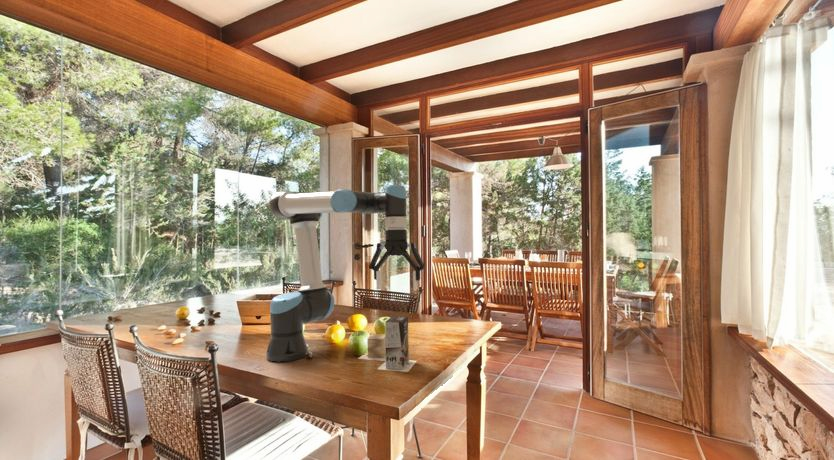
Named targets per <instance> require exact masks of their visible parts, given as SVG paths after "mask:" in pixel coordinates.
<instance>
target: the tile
mask: <svg viewBox="0 0 834 460" xmlns="http://www.w3.org/2000/svg"><path fill="white" fill-rule="evenodd" d="M417 362H418V360H412V359H409V361H408V363H407V364H406V366H405V367H404V369H402V370H400V369H387V368H386V361H383V363H382V364H381V365H379V366H378V367H377V370H384V371H392V372H393V371H395V372H404V373H405V372H406V373H409V372H410V370H411V369H412V368H413V367H414V365H415V364H416V363H417Z"/></svg>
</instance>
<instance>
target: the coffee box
mask: <svg viewBox="0 0 834 460" xmlns="http://www.w3.org/2000/svg"><path fill="white" fill-rule="evenodd" d="M384 324H385V328H384V329H385V333H384V334H385V342H386V343H385V344H386V368H387V369H400V370H402V369H404V367H405V366H406V364H407V363H408V361H409V360H410V358H409V357H410V351H409V343H410V342H409V316H406V315H405V316H404V315H403V316H402V315H401V316H400V315H398V316H390V317H389V318H388V319H387V320H385V323H384Z"/></svg>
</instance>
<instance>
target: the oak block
mask: <svg viewBox="0 0 834 460" xmlns="http://www.w3.org/2000/svg"><path fill="white" fill-rule="evenodd" d="M366 340H367V351H368V357H373V358H384V356H385V355H386V344H385V343H386V342H385V333H384V334H383V333H379V334H378V333H370V335H369V336H368V337H367V339H366Z"/></svg>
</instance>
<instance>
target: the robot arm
mask: <svg viewBox="0 0 834 460" xmlns="http://www.w3.org/2000/svg"><path fill="white" fill-rule="evenodd" d="M406 190H407V189H406V187H405V185H402V184H388V185H386V186H384V191H382V192H369V191H359V190H352V189H351V190H350V189H344V188H339V189H336V190H332V191H331V190H330V191H318V192H317V191H316V192H315V191H314V192H307V191H306V192H304V191H303V192H299V191H289V190H281V191H277V192H275V193H274V194H272V196H271V197H270V199H269V201H268V208H269V211H270V213H271V214H272V215H273V216H274V217H275V218H278V219H281V220H289V222H290V226H291V228H293V229H294V232H295V233H294V234H295V240H296V251H297V258H298V268H299V276H300V277H299V278H300V285H301V286H300V287H299V289H298V290H297V291H293V292H284V293H282V294H278V295H276V296H274V297H273V298H272V299H271V300H270V308H269V312H270V340H269V343H268V346H267V349H266V354H265V355H266V358H267V359H268V360H267V359H266V358H265V359H266V360H267V361H269V360H270V361H269V362H272V361H277V362H276V363H282V362H281V361H287V362H293V361H296V360H300V359H303V358H305V357H306V356H307V355H306V353H307V352H308V353H309V348H308V347H309V346H308V344H307V342H306V338H305V336H304V329H303V326H304V325H306V324H310V323H313V322H316V321H322V320H323V319H326V318H328V317H329V316H330V315H332V313H333V311H334V308H335V298H334V295H333V294H332V292H331V291H330V290H328V288H327V287H328V286H327V285H326V284H325V283H324V282H323V277H322V268H321V260H320V251H319V242H318V234H317V226H318V224H319V223H320V220H319V219H321V218H322V216H323V214H328V213H330V214H335V213H336V214H337V213H340V214H341V213H343V214H344V213H351V214H353V213H359V214H366V215H372V214H384V215H385V216H384V220H385V221H384V223H385V224H384V226H385V229H386V230H385V234H384V235H385V243H382V242H378V243H377V244H376V249H375V251H374V254H373V257H372V258H371V261H370V263H369V265H368V269H369V270H372V271H373V279H374V280H375V281H376V290H381V289H382V270H381V268H382V266H383V265H384V264H385V262H386V261H387V260H388V259H389V258H390V256H391V257H393V256H402V257H404V259H405V260H406V261H407V263H408V264H410V266H411V267H412V269H413V270H414V271H412V277H413V278H412V279H413V280H412V281H413V284H412V285H413V290H412V291H414V292H416V291H417V290H418V289H419V288H418V287H419V285H418V284H419V283H418V282H419V281H420V280H421V271H423V270H425V269H426V265H425V264H424V261H423V259H422V257H421V255H420V253H419V251H418V250H417V249H418V248H417V243H416V242H411V243H408V231H407V228H408V227H407V226H408V225H407V224H408V223H407V220H408V219H407V192H406ZM408 248H409V249H410V250H411V253H412V254H413V256H414V259H415V260H414V259H413V258H412V256H411V255H410V254H409V252H408ZM383 249H385V250H386V251H385V252H384V253H383V256H382V257H381V258H380V259H379V257H380V256H381V253H382V251H383ZM305 355H306V356H305ZM292 360H293V361H292Z"/></svg>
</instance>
